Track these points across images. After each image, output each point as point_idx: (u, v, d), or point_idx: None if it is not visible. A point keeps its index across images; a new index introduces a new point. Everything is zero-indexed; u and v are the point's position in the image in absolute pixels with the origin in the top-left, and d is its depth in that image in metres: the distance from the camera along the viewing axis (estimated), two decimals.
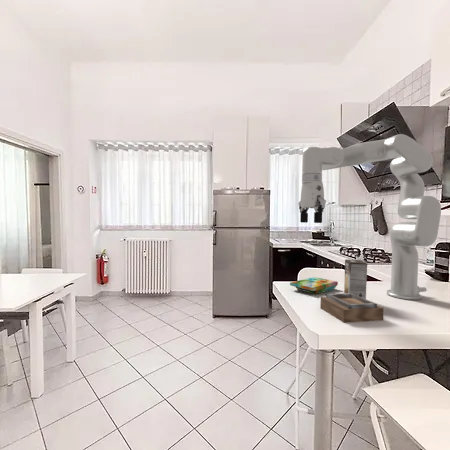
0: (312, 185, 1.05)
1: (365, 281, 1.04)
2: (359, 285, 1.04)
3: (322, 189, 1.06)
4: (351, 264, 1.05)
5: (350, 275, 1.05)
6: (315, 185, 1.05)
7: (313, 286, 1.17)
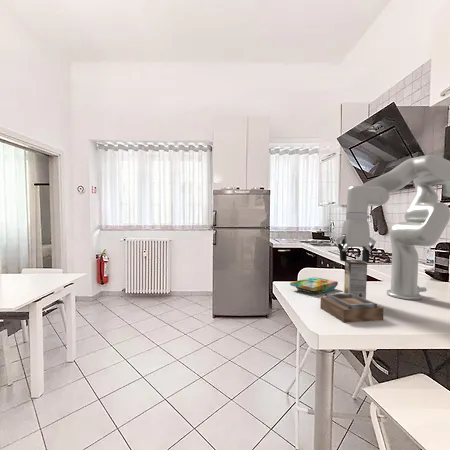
0: (368, 225, 1.07)
1: (365, 282, 1.04)
2: (359, 285, 1.04)
3: None
4: (351, 264, 1.05)
5: (350, 275, 1.05)
6: None
7: (313, 286, 1.17)
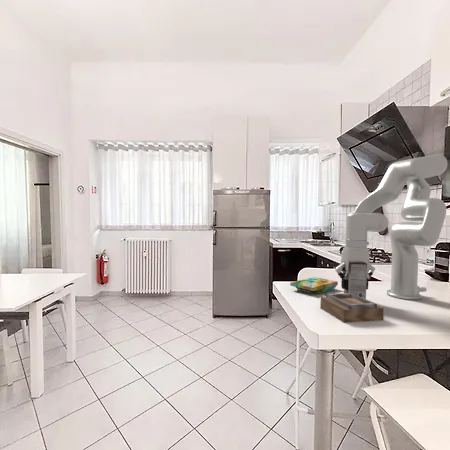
0: (367, 252, 1.07)
1: (365, 281, 1.04)
2: (359, 285, 1.04)
3: None
4: (351, 264, 1.05)
5: (350, 275, 1.05)
6: None
7: (313, 286, 1.17)
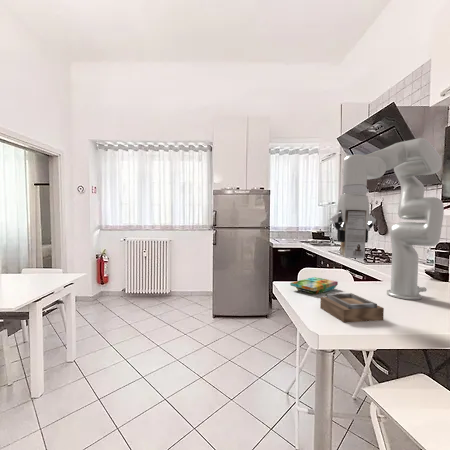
0: (367, 199, 0.94)
1: (364, 231, 0.91)
2: (357, 235, 0.91)
3: None
4: (348, 211, 0.92)
5: (347, 224, 0.92)
6: None
7: (314, 286, 1.17)
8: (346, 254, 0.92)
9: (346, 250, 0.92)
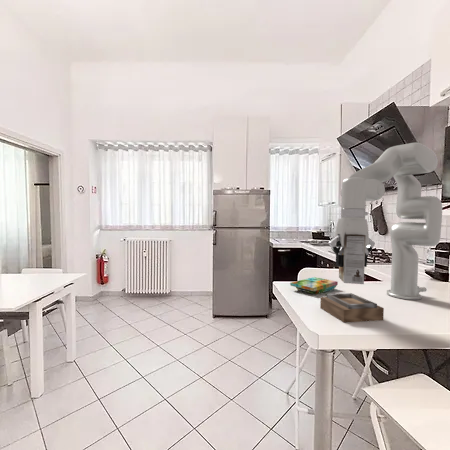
0: (366, 223, 0.92)
1: (363, 256, 0.89)
2: (356, 260, 0.89)
3: None
4: (347, 236, 0.90)
5: (346, 249, 0.90)
6: None
7: (314, 286, 1.17)
8: (345, 280, 0.90)
9: (345, 275, 0.90)
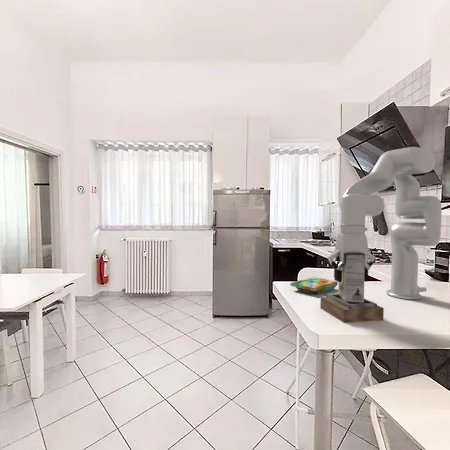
0: (366, 239, 0.92)
1: (363, 275, 0.89)
2: (356, 279, 0.90)
3: None
4: (347, 255, 0.90)
5: (346, 268, 0.90)
6: None
7: (314, 286, 1.17)
8: (345, 298, 0.90)
9: (345, 294, 0.90)
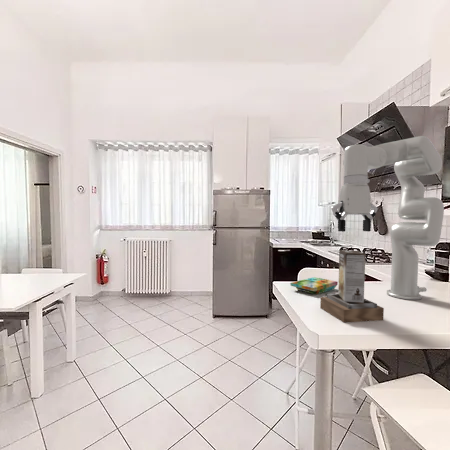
0: (368, 190, 0.94)
1: (363, 275, 0.89)
2: (356, 279, 0.90)
3: None
4: (347, 255, 0.90)
5: (346, 268, 0.90)
6: None
7: (314, 286, 1.17)
8: (345, 298, 0.90)
9: (345, 294, 0.90)
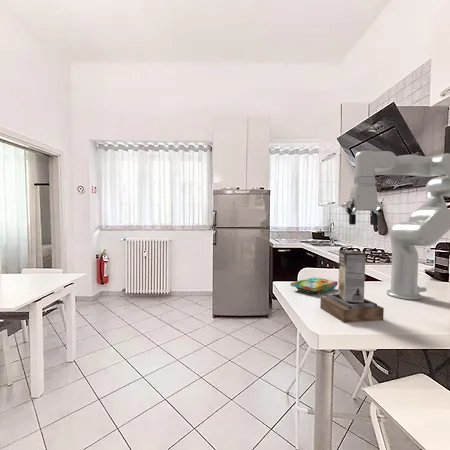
0: (375, 189, 1.11)
1: (363, 275, 0.89)
2: (356, 279, 0.90)
3: None
4: (347, 255, 0.90)
5: (346, 268, 0.90)
6: None
7: (314, 286, 1.17)
8: (345, 298, 0.90)
9: (345, 294, 0.90)
